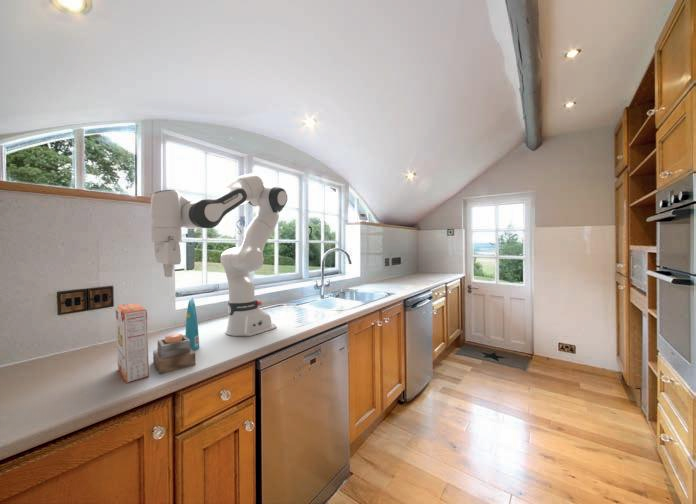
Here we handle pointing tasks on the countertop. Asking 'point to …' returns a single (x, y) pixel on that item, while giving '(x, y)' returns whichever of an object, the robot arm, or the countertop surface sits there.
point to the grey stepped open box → (173, 355)
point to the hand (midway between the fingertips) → (168, 276)
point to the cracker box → (132, 341)
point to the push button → (173, 338)
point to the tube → (192, 326)
